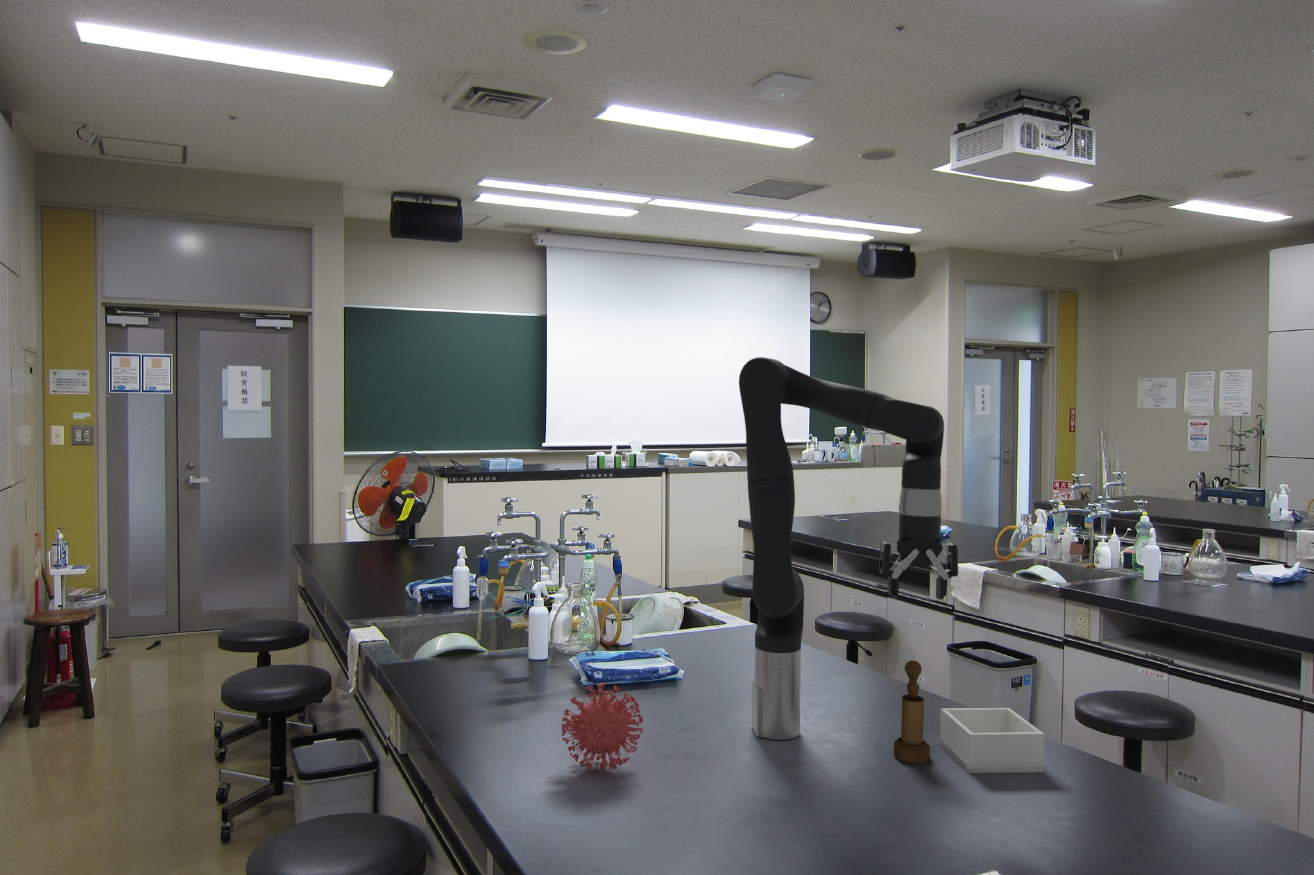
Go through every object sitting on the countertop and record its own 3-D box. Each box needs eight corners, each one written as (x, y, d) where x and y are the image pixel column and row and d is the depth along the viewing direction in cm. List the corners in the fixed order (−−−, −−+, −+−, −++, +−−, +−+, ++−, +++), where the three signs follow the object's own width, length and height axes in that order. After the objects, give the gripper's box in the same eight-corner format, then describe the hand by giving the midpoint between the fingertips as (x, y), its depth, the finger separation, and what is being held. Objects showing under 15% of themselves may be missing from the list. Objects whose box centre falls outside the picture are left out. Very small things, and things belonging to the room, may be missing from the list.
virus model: (653, 757, 158) (654, 677, 158) (624, 790, 144) (625, 703, 144) (581, 746, 163) (581, 669, 163) (546, 777, 149) (546, 693, 149)
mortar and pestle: (931, 765, 156) (933, 667, 155) (895, 762, 157) (896, 665, 157) (927, 751, 162) (929, 657, 162) (892, 748, 164) (893, 655, 163)
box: (969, 773, 152) (969, 734, 152) (940, 744, 166) (940, 708, 166) (1043, 772, 153) (1044, 733, 153) (1008, 743, 166) (1008, 708, 166)
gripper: (888, 513, 155) (885, 602, 156) (965, 515, 156) (962, 603, 156) (876, 509, 163) (873, 593, 163) (950, 510, 163) (947, 594, 164)
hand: (917, 598), depth 160 cm, fingers open, 8 cm apart
